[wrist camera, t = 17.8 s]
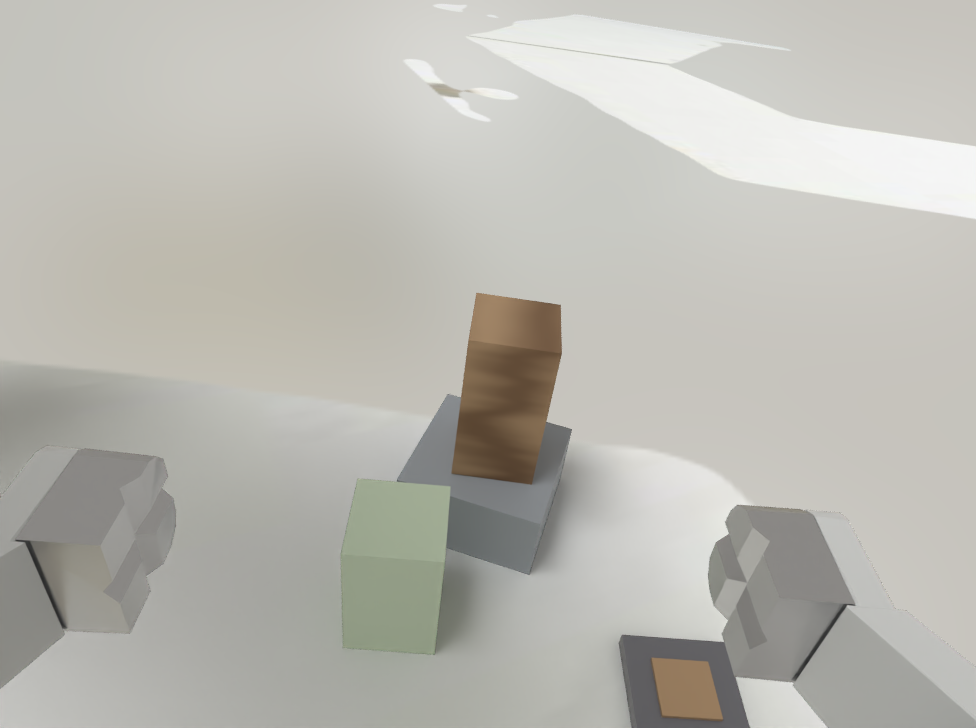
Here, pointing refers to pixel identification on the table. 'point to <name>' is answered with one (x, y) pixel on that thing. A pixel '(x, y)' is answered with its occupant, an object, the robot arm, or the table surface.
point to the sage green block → (394, 566)
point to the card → (680, 684)
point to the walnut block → (507, 387)
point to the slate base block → (489, 494)
